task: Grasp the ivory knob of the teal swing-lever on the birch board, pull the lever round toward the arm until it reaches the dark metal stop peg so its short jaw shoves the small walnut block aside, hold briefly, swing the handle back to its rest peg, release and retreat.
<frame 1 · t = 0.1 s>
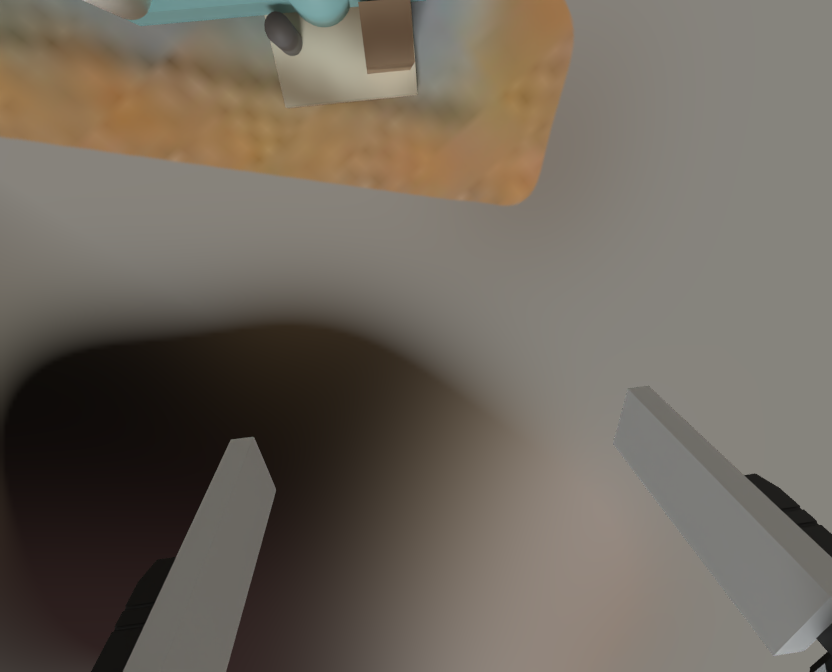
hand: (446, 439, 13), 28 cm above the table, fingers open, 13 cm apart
walnut block: (386, 44, 29), point 1 cm above the table, touching press base
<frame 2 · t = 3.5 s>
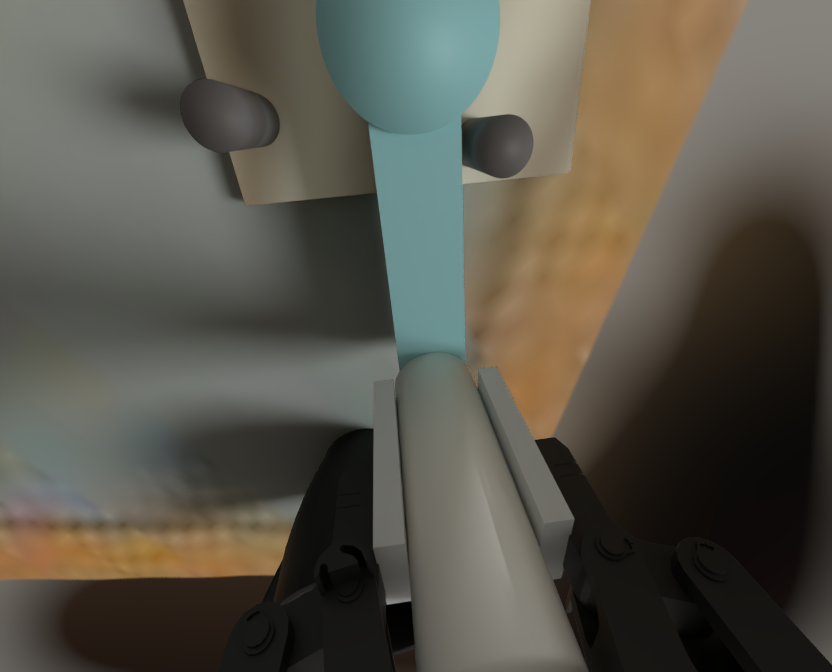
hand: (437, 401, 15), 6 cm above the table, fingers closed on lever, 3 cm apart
lever: (433, 171, 8), point 9 cm above the table, hinge at 0.0°, touching gripper
press base: (395, 29, 14), on the table
mug: (346, 469, 25), on the table
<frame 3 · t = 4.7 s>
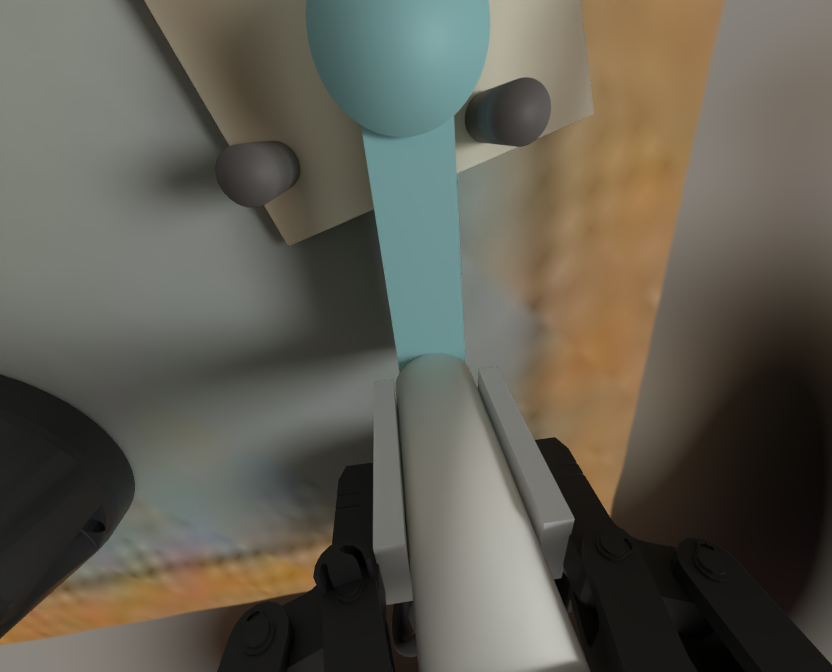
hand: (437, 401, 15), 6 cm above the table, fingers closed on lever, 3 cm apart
lever: (426, 173, 8), point 9 cm above the table, hinge at 15.3°, touching gripper
press base: (381, 34, 14), on the table
mug: (438, 465, 26), on the table
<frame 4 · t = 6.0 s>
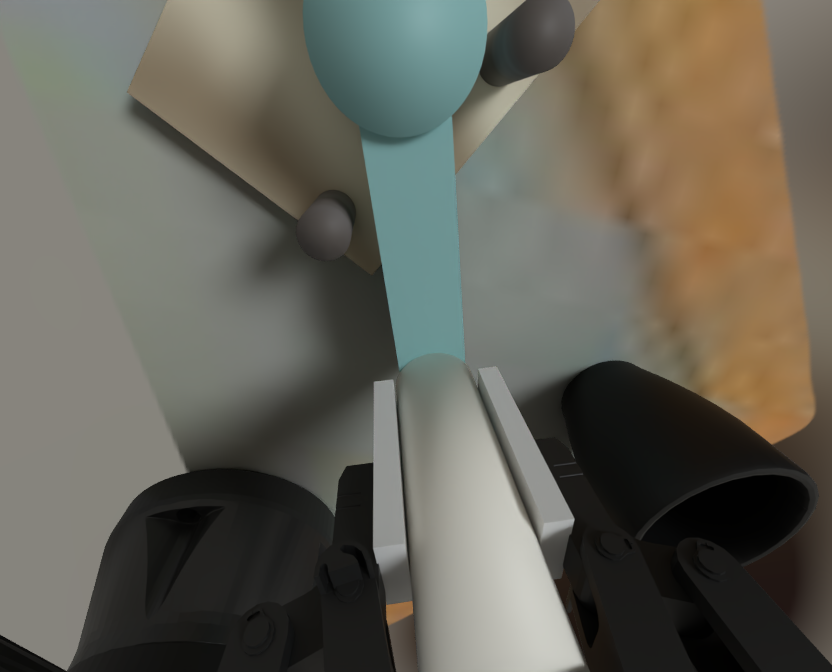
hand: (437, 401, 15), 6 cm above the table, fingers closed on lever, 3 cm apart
lever: (423, 173, 8), point 9 cm above the table, hinge at 42.7°, touching gripper, walnut block
press base: (369, 43, 14), on the table
mug: (589, 414, 25), on the table
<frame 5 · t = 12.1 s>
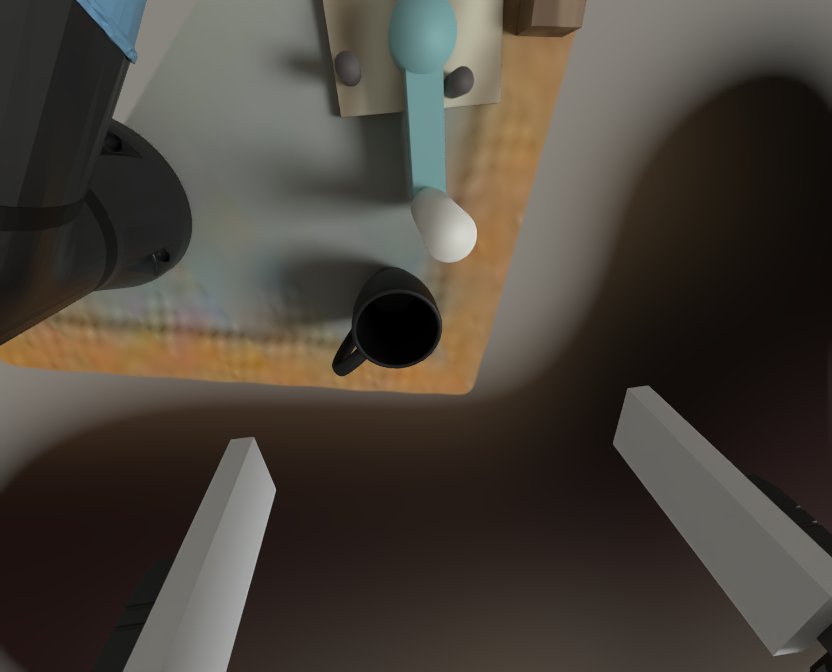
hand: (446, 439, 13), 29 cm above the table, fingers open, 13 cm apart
walnut block: (526, 2, 28), point 2 cm above the table, tilted 90°
lever: (431, 80, 24), point 9 cm above the table, hinge at 1.0°
press base: (415, 31, 30), on the table
mug: (379, 300, 41), on the table
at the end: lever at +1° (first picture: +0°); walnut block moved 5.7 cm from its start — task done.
